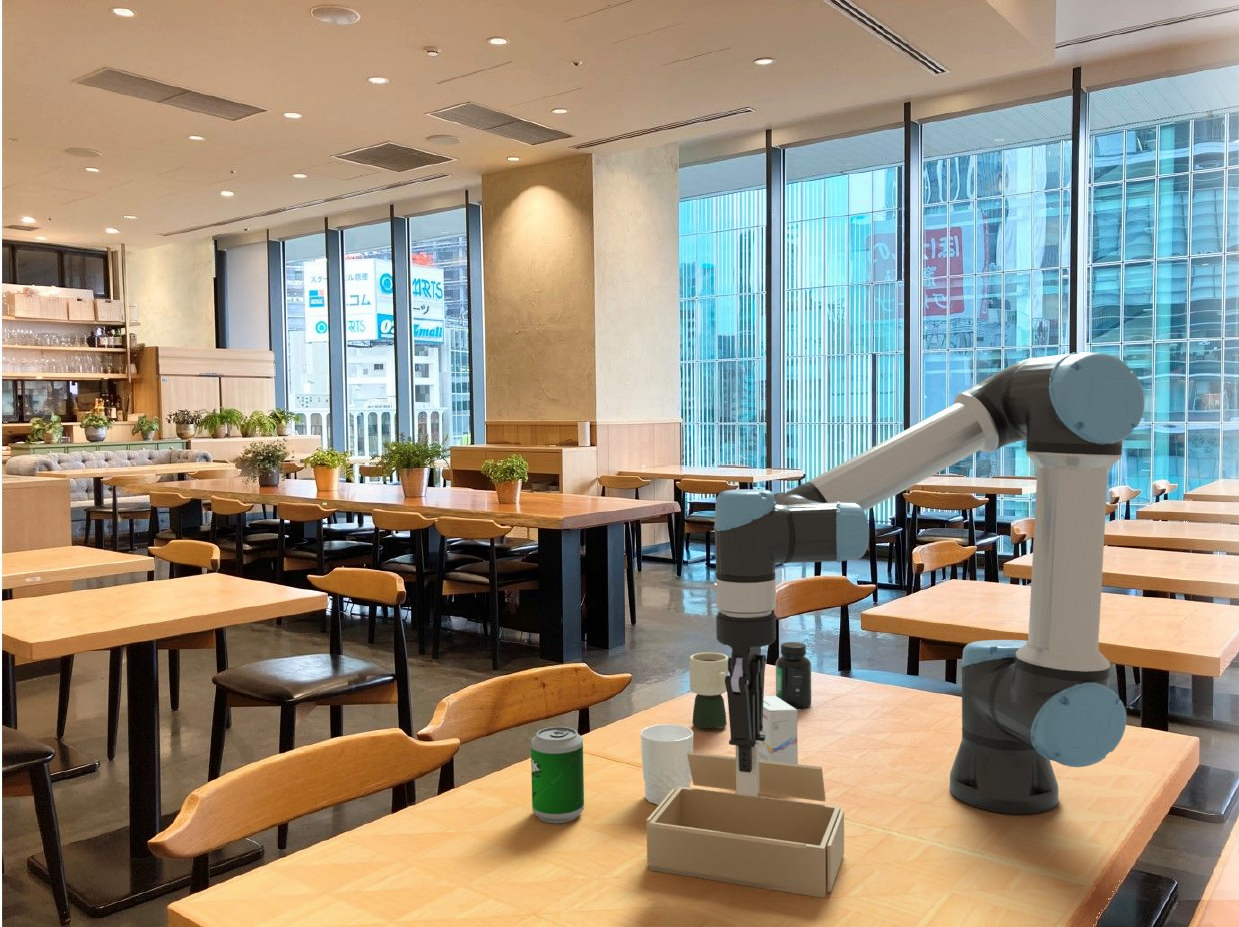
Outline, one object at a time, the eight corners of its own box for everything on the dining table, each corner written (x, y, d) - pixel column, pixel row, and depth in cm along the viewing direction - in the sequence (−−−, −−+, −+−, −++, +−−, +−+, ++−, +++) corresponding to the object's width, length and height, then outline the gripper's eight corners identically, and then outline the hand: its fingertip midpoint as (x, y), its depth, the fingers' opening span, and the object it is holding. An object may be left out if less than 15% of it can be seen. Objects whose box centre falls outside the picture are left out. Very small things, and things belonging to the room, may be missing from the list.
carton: (845, 852, 129) (845, 807, 128) (829, 898, 117) (829, 849, 116) (675, 828, 137) (675, 785, 137) (644, 869, 125) (643, 822, 125)
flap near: (806, 844, 117) (797, 843, 111) (806, 848, 116) (797, 847, 111) (661, 824, 123) (646, 822, 118) (661, 827, 123) (646, 826, 118)
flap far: (825, 799, 130) (821, 767, 127) (825, 801, 130) (821, 769, 127) (694, 782, 136) (687, 751, 133) (693, 785, 136) (687, 754, 133)
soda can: (593, 809, 144) (592, 728, 143) (569, 829, 137) (567, 744, 137) (548, 801, 147) (546, 722, 147) (522, 820, 140) (520, 737, 140)
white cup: (678, 812, 142) (677, 744, 142) (631, 801, 147) (630, 735, 146) (703, 794, 149) (702, 729, 149) (658, 784, 153) (657, 721, 153)
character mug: (742, 732, 177) (741, 661, 177) (708, 738, 174) (707, 666, 174) (710, 716, 187) (710, 648, 186) (678, 721, 184) (677, 652, 183)
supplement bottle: (775, 709, 190) (775, 648, 190) (776, 699, 197) (775, 640, 197) (811, 711, 189) (811, 649, 189) (811, 700, 196) (810, 641, 195)
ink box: (799, 783, 153) (799, 708, 152) (770, 787, 152) (769, 711, 151) (775, 764, 161) (775, 693, 161) (747, 768, 160) (747, 696, 159)
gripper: (729, 600, 133) (731, 772, 134) (703, 620, 121) (706, 808, 122) (784, 603, 130) (786, 778, 132) (763, 623, 118) (766, 816, 119)
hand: (747, 792), depth 127 cm, fingers closed
